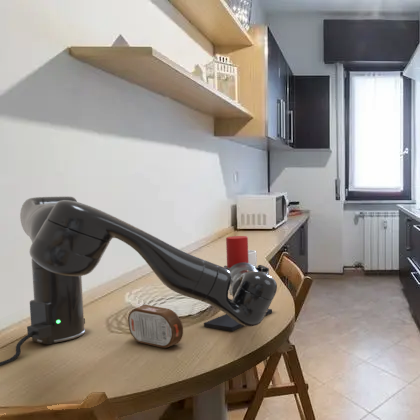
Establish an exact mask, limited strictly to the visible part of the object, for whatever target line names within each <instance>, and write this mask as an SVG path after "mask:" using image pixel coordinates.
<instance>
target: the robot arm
mask: <svg viewBox="0 0 420 420" xmlns="http://www.w3.org/2000/svg"><path fill="white" fill-rule="evenodd" d="M19 217H20V218H19V220H20V224H21V227H22V229H23V232H24V233H25V234H26V235H27V237H29V239H30V241H31V245H30V247H29V256H30V257H31V269H32V270H31V273H32V274H31V275H32V289H33V290H32V291H33V299H31V300H30V301H29V312H30V325H28V326H26V328H27V329H26V331H27V332H26V333H27V335H25V336H23V337H22V338H20V340H19V341H18V342H17V344H16V346H15V353H14V354H13V356H11V357H10V358H8V359H6V360H3V361H0V367H2V366H4V365H7V364H9V363H12V362H14V361H16V360H17V359H18V357H20V355H21V351H22V350H21V349H22V348H21V347H22V346H23V344H24V343H25V342H26V341H27V340H29V339H30V338H31V342H34V343H38V344H43V345H47V346H48V345H49V346H50V345H52V344H56V343H63V342H67V341H70V340H73V339H77V338H79V337H82V336H83V335H85V333H86V328H85V325H86V318H85V315H84V314H85V312H84V297H83V295H84V294H83V279H82V278H83V277H84V276H87V275H88V274H90V273H92V272H93V271H95V269H96V268H97V266H98V265H99V263H100V261H101V260H102V258H103V257H104V254H105V252H106V250H107V249H108V246H109V245H110V243H111V242H112V240H113V239H117V240H118V241H121V242H123V243H125V244H126V245H128V246H129V247H131V248H132V249H133V250H134V251H135V252H137V254H138V255H139V256H140V257H141V258H142V259H143V260H144V261H145V263H146V264H147V265H148V266H149V268H150V269H151V270H152V272H153V273H154V275H155V276H156V277H157V278H158V279H159V281H160V282H161V283H162V284H163V285H164V286H165V287H167V288H168V289H169V290H171V291H173V292H174V293H177V294H178V295H181V296H184V297H188V298H191V299H193V300H197V301H200V302H201V303H205V304H208V305H210V306H211V307H214V308H216V309H218V310H220V311H221V312H222V313H224V314H227V315H228V316H230V317H231V318H232V319H234V320H235V321H236V322H238V323H240V324H241V325H244V326H243V327H249V328H251V327H255V326H258V325H260V324H261V323H262V322H263V321H264V318H265V317H266V316H267V315H266V312H267V310H268V309H270V306H271V304H272V303H273V300H274V298H275V296H276V294H277V290H278V284H277V281H276V279H274V278H273V277H272V276H271V275H270V268H269V267H267V266H264V265H263V264H257V267H255V265H251V264H249V263H245V262H241V263H237V264H235V265H233V266H232V267H227V265H223V266H221V265H218V264H216V263H214V262H210V261H208V260H205V259H203V258H200V257H198V256H195V255H192V254H191V253H188V252H186V251H184V250H181V249H179V248H177V247H175V246H174V245H172V244H169V243H168V242H166V241H164V240H162V239H160V238H158V237H156V236H154V235H152V234H151V233H150V232H146V231H144V230H143V229H141V228H139V227H138V226H137V227H136V226H134V225H133V224H130V223H128V222H126V221H124V220H122V219H120V218H118V217H117V216H114V215H112V214H110V213H107V212H105V211H103V210H101V209H98V208H96V207H93V206H91V205H88V204H85V203H82V202H79V201H78V200H77V199H76V198H75V197H74V196H37V197H36V196H35V197H30V198H28V199H26V200H25V201H24V202H23V204H22V205H21V208H20V213H19ZM229 291H230V292H229ZM230 293H231V294H232V295H231V296H232V299H231V298H229V294H230ZM265 315H266V316H265Z"/></svg>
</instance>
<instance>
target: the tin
mask: <svg viewBox="0 0 420 420" xmlns="http://www.w3.org/2000/svg"><path fill="white" fill-rule="evenodd" d="M127 323H128V329H129V334H130V335H131V336H132V338H133V339H134V340H135V341H136V342H138V343H141V344H145V345H149V346H154V347H157V348H161V349H168V348H170V347H172V346H174V345H177V344H179V343H180V342H181V341H182V338H183V336H184V327H183V323H182V320H181V319H180V316H179V315H178V314H177V313H176V312H175V311H174V310H172V309H171V308H166V307H161V306H156V305H149V304H142V305H140V306H138V307H135V308H133V309H131V310H130V311H129V313H128V316H127Z"/></svg>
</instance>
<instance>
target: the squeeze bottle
mask: <svg viewBox="0 0 420 420" xmlns="http://www.w3.org/2000/svg"><path fill="white" fill-rule="evenodd" d="M225 242H226V243H225V244H226V245H225V249H226V266H227V267H232V266H233V265H235V264H237V263H241V262H245V263H248V250H249V236H247V235H234V236H233V235H232V236H227V237H225ZM228 293H229V295H230V296H232V294H231V293H230V291H228Z"/></svg>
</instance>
